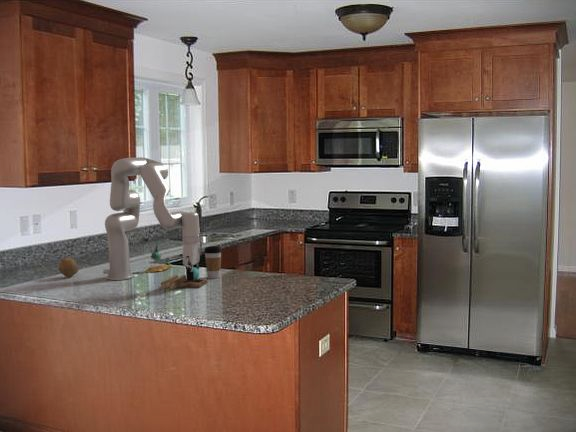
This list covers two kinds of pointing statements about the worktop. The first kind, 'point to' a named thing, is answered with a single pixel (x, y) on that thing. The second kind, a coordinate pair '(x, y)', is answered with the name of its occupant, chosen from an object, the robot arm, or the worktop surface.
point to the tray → (193, 283)
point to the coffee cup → (213, 261)
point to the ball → (195, 273)
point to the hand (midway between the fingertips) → (192, 278)
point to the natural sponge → (68, 267)
